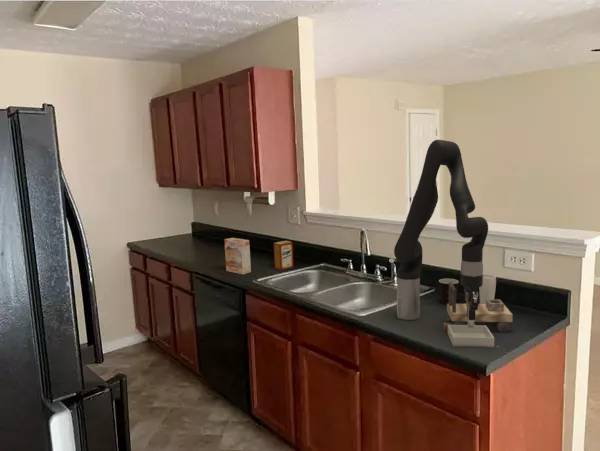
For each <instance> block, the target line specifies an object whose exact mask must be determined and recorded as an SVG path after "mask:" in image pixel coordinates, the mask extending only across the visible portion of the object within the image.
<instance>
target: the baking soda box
mask: <svg viewBox="0 0 600 451" xmlns="http://www.w3.org/2000/svg"><path fill="white" fill-rule="evenodd" d="M293 245H294V243H293V241H290V240H282V241H277V242H273V256H274V258H273V261H274V269H277V270H279V271H283V270H287V269H292V268H294V246H293Z"/></svg>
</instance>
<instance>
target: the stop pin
mask: <svg viewBox="0 0 600 451" xmlns="http://www.w3.org/2000/svg"><path fill="white" fill-rule="evenodd" d="M469 302H471V301H469ZM465 304H467V305H468V308H469V304H468V303H467V299H466V303H465ZM472 307H474V306H472ZM467 325H468V328H475V325H476V323H475V320H469V309H468V321H467Z"/></svg>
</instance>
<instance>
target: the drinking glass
mask: <svg viewBox="0 0 600 451" xmlns="http://www.w3.org/2000/svg"><path fill="white" fill-rule="evenodd" d="M496 286H497V276H496V275H495V274H489V273H483V285H482V286H481V287H478V294H479V304H486V299H495V296H496V295H495V294H496Z"/></svg>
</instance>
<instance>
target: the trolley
mask: <svg viewBox="0 0 600 451" xmlns="http://www.w3.org/2000/svg"><path fill="white" fill-rule="evenodd" d="M456 291H457V290H456V288H455V287H454V285H453V284H452V282H449V304H446V312H447V314H448V318H449V321H451V322H452V323H453V324H454V325H467V324H466V322H468V317H467V307H466V303H457V298H456ZM457 292H458V291H457ZM513 315H514V314H513V313H512V312H511V311H510V309H509V308H508V307H507V306H506V305H505V303H504V302H503V301H502V300H501V299H497V298H496V299H495V298H494V299H486V304H480V303H479V304H478V309H477V310H475V322H479V323H483V322H485V323H486V322H487V323H489V322H490V323H496V328H497V330H498V331H499V332H500V333H503V334H504V333H507V332H509V330H510V329H511V326H510V323H513V319H514V318H513V317H514V316H513Z"/></svg>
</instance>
